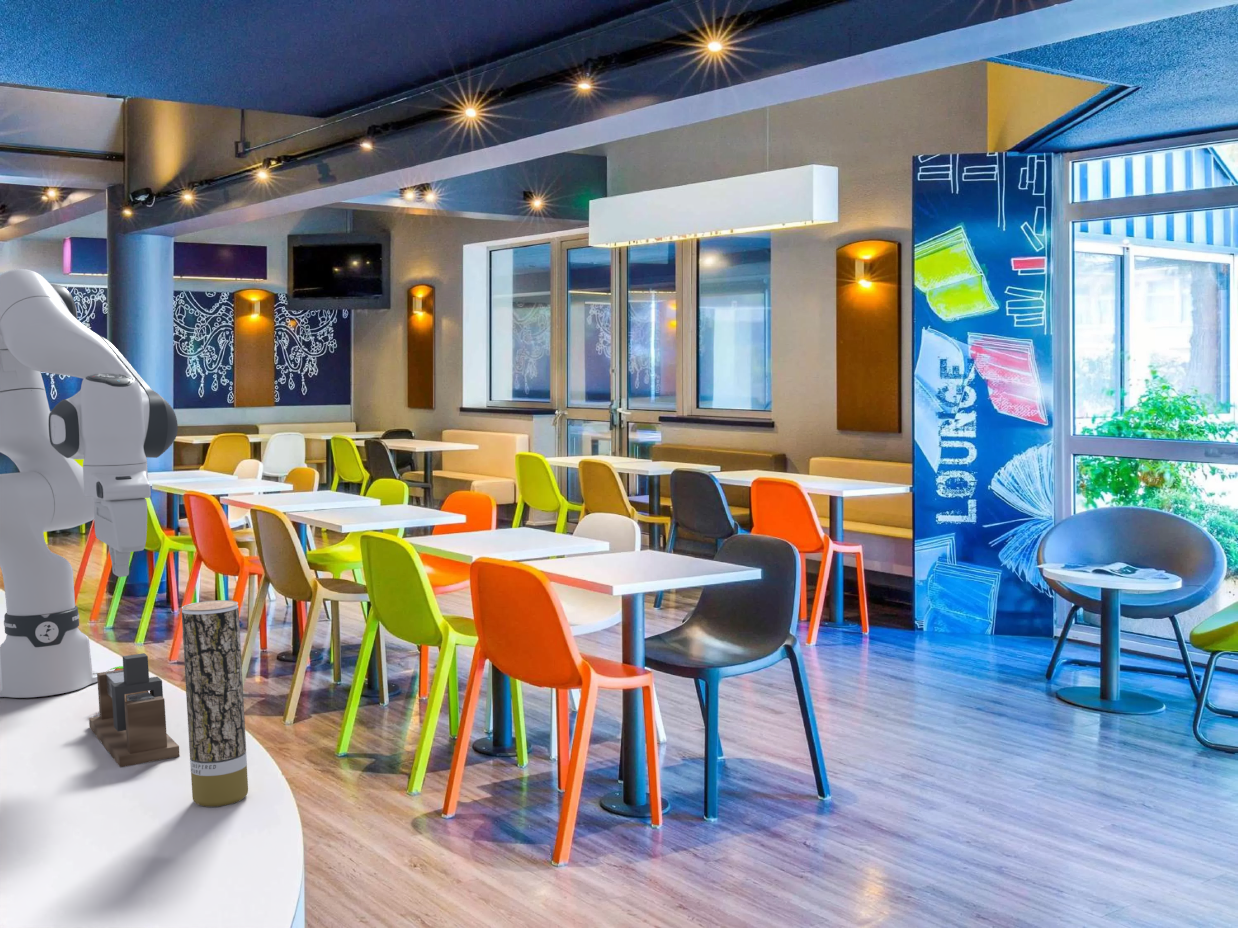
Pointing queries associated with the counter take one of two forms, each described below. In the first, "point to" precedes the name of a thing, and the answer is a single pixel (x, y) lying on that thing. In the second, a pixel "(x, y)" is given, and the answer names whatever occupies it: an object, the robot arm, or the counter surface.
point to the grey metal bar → (119, 677)
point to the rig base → (133, 729)
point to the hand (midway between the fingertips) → (121, 575)
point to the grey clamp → (133, 686)
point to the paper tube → (215, 702)
